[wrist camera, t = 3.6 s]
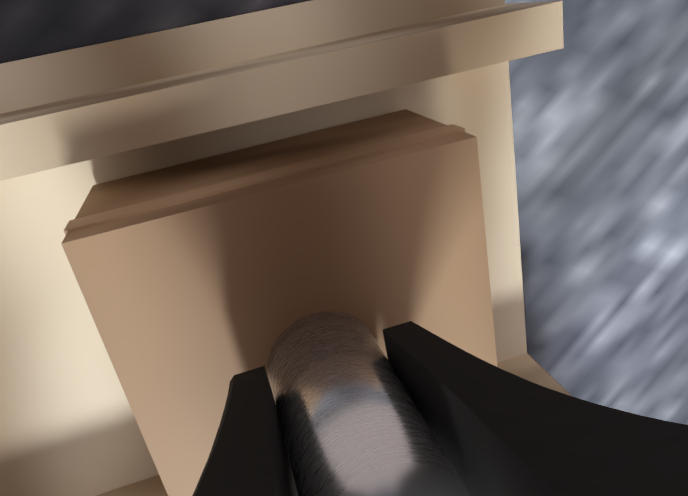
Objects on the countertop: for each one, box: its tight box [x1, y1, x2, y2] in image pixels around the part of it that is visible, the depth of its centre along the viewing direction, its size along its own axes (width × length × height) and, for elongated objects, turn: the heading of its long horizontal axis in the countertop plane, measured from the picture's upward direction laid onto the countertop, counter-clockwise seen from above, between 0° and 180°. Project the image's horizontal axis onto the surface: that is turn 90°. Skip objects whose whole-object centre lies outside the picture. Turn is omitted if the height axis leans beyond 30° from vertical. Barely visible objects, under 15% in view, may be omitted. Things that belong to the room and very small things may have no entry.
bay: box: [0, 0, 571, 496], centre depth 15 cm, size 20×14×4 cm
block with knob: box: [61, 109, 498, 496], centre depth 12 cm, size 8×8×9 cm
